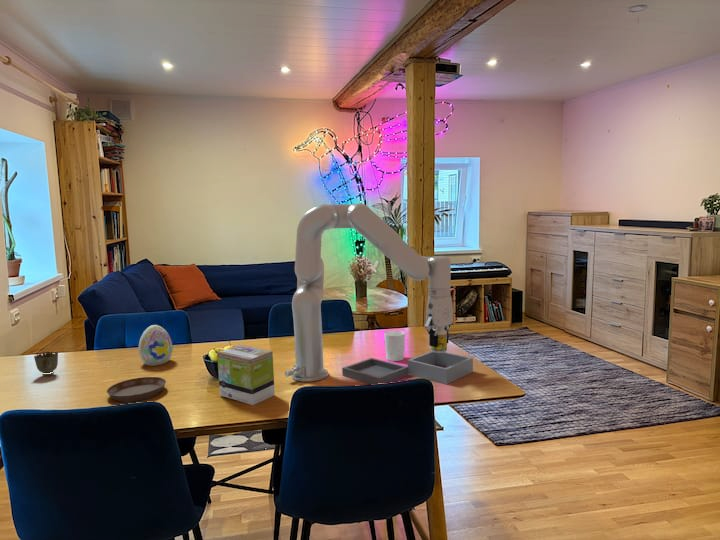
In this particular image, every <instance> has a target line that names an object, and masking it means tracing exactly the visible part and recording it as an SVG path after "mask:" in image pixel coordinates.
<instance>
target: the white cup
mask: <svg viewBox="0 0 720 540" xmlns="http://www.w3.org/2000/svg"><path fill="white" fill-rule="evenodd" d="M383 334H384V335H383V336H384V348H385V358H386V360H387V361H389V362H390V361H391V362H398V361H403V360H404V358H405V348H406V347H405V346H406V345H405V344H406V333H405V332H404V331H402V330H388V331H385V332H384V333H383Z"/></svg>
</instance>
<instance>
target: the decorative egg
mask: <svg viewBox="0 0 720 540" xmlns="http://www.w3.org/2000/svg"><path fill="white" fill-rule="evenodd" d="M138 341H139V343H138V355H139V357H140V360H141V361H142V362H143V364H145V366H149V367H154V366H161V365H164V364H167V363H168V362H169V361H170V360H171V357H172V356H173V349H174V348H173V342H172V339H171V336H170V335H169V333H168V331H167V330H166V329H165V328H163V326H160V325H158V324H152V325H150V326H148V327H147V328H146V329H145V330H143V333H142V334H141V336H140V339H139V340H138Z"/></svg>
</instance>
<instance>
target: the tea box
mask: <svg viewBox="0 0 720 540" xmlns="http://www.w3.org/2000/svg"><path fill="white" fill-rule="evenodd" d="M216 353H217V354H216V355H217V356H216V357H217V369H218V371H217V372H218V385H219V396H220V397H224V398H227V399H231V400H235V401H237V402H241V403H244V404H247V405H250V406H256V405H257V404H259V403H261V402H263V401H265V400H268V399H270V398H271V397H273V396H275V376H274V375H275V374H274V372H275V371H274V357H273V356H274V355H273V350H268V349H263V348H258V347H252V346H248V345H242V344H238V345H235V346H232V347H230V348H227V349H224V350H221V351H217V352H216Z"/></svg>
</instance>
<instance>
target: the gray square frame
mask: <svg viewBox="0 0 720 540" xmlns="http://www.w3.org/2000/svg"><path fill="white" fill-rule="evenodd" d="M407 367H408V375H409V376H413V377H418V378H421V379H424V378H425V379H424V380H428V379H429V380H428V381H432V382H436V383H439V384H444V385H448V384H451V383H452V382H454V381H456V380H459V379H461V378H463V377H465V376H467V375H469V374H471V373H473V372H474V358H473V357H469V356H465V355H460V354H457V353H452V352H447V351H446V352H444V353H435V352H432V350H431V351H429V352H426V353H423V354H421V355H418V356H415V357H412V358H410V359H407Z"/></svg>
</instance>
